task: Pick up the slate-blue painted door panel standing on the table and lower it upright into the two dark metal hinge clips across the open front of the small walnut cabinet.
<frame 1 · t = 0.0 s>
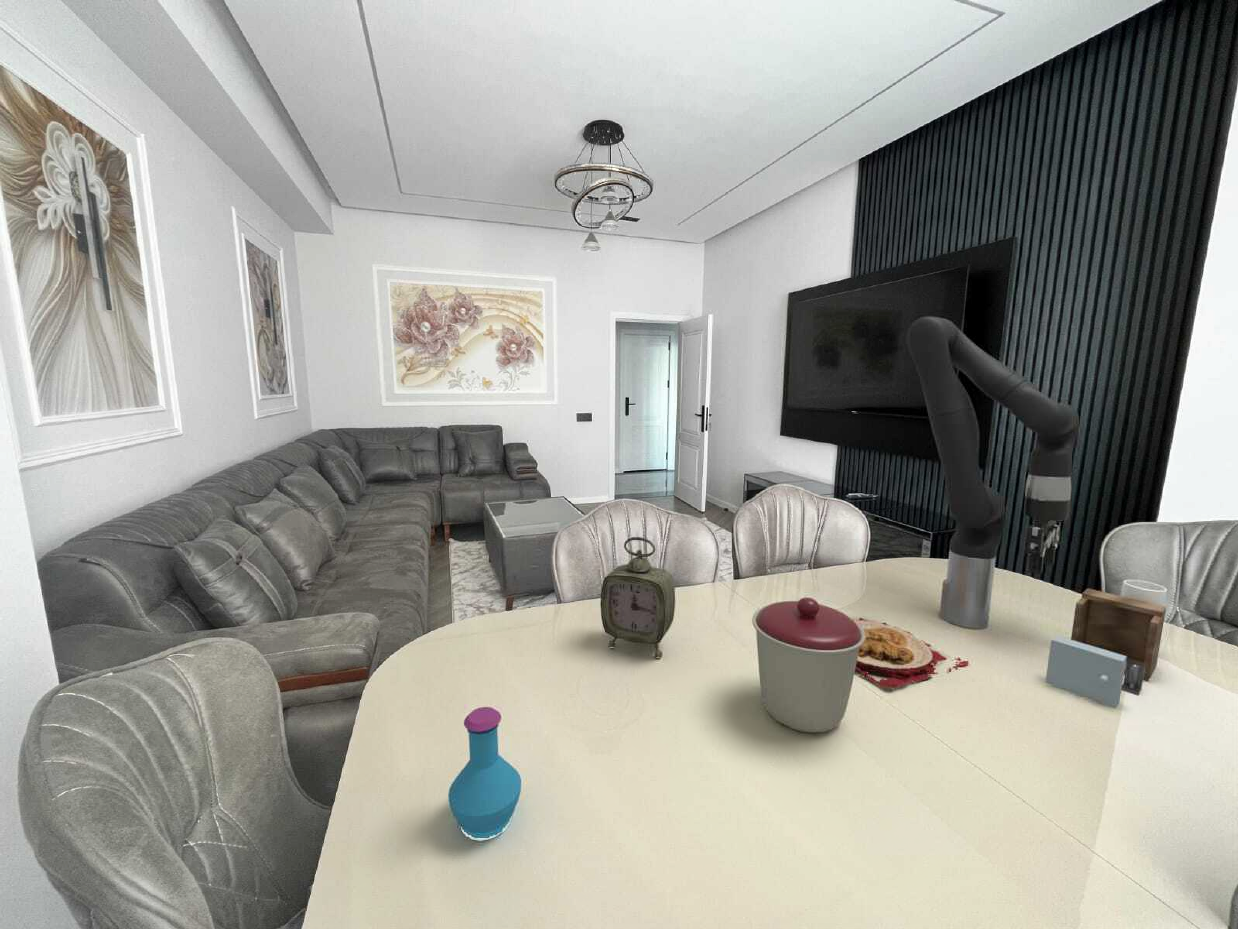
hand: (1041, 568, 113), 17 cm above the table, tool pointing down, fingers open, 8 cm apart
tabletop clock: (639, 648, 113), on the table
door: (1081, 692, 97), on the table
cabinet: (1111, 661, 108), on the table
canister: (801, 714, 90), on the table
perfume bottle: (486, 820, 68), on the table
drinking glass: (1134, 651, 112), on the table
hinge clips: (1100, 677, 102), on the table
plate with food: (872, 651, 113), on the table
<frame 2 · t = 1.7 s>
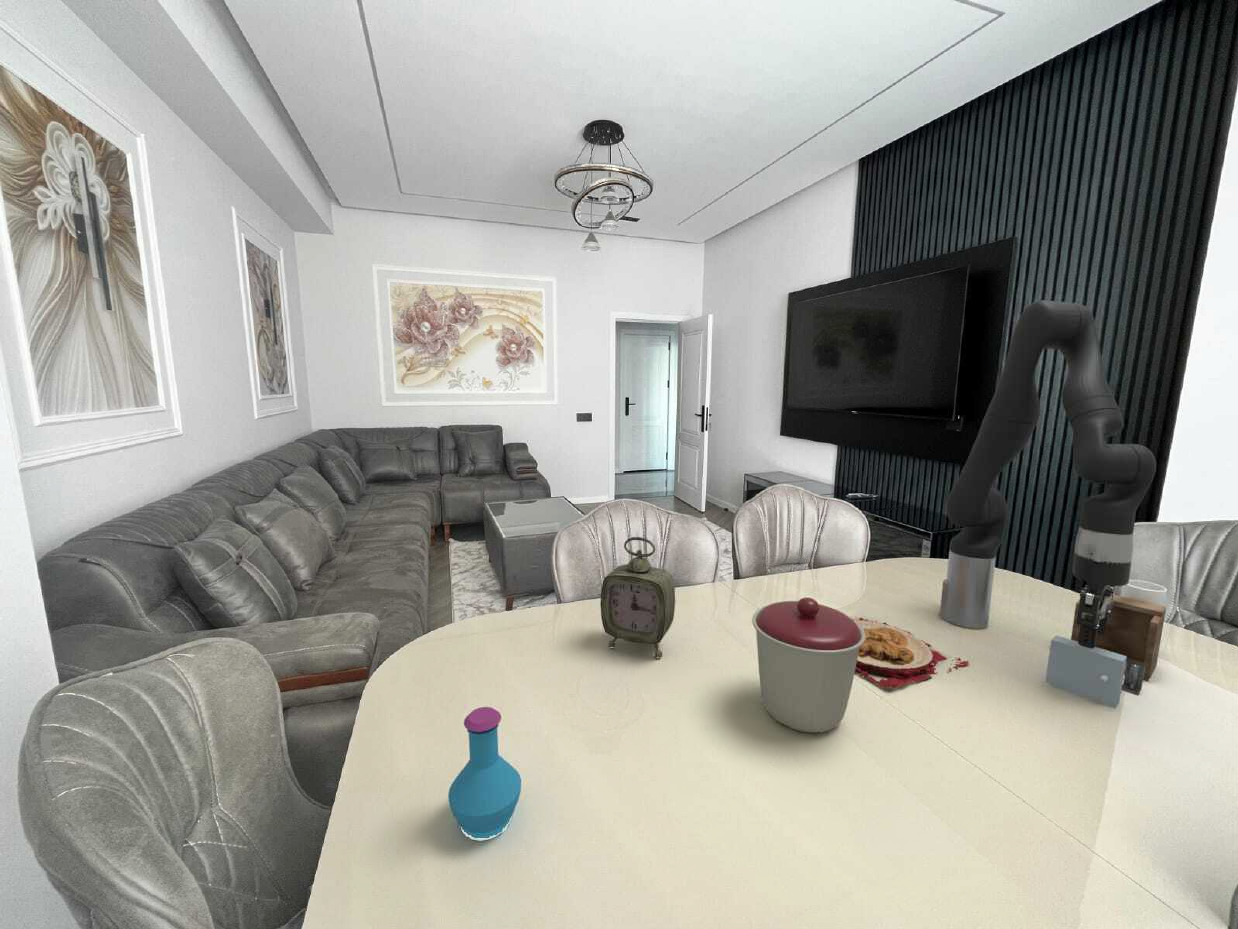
hand: (1091, 639, 95), 11 cm above the table, tool pointing down, fingers open, 8 cm apart
nothing on the table moved.
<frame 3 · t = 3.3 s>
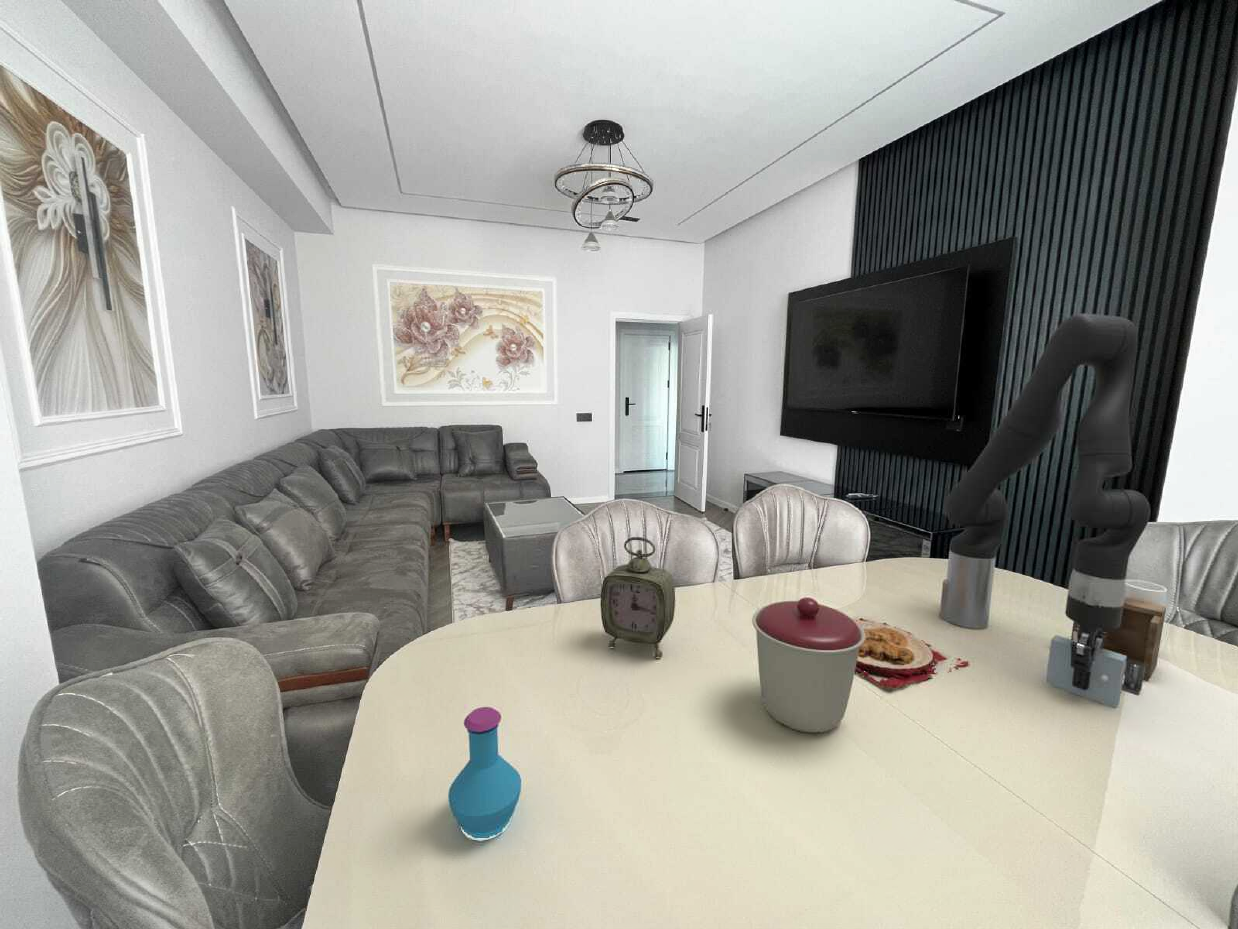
hand: (1082, 684, 97), 2 cm above the table, tool pointing down, fingers closed on door, 3 cm apart
door: (1081, 692, 97), on the table, touching gripper
everything else where it was.
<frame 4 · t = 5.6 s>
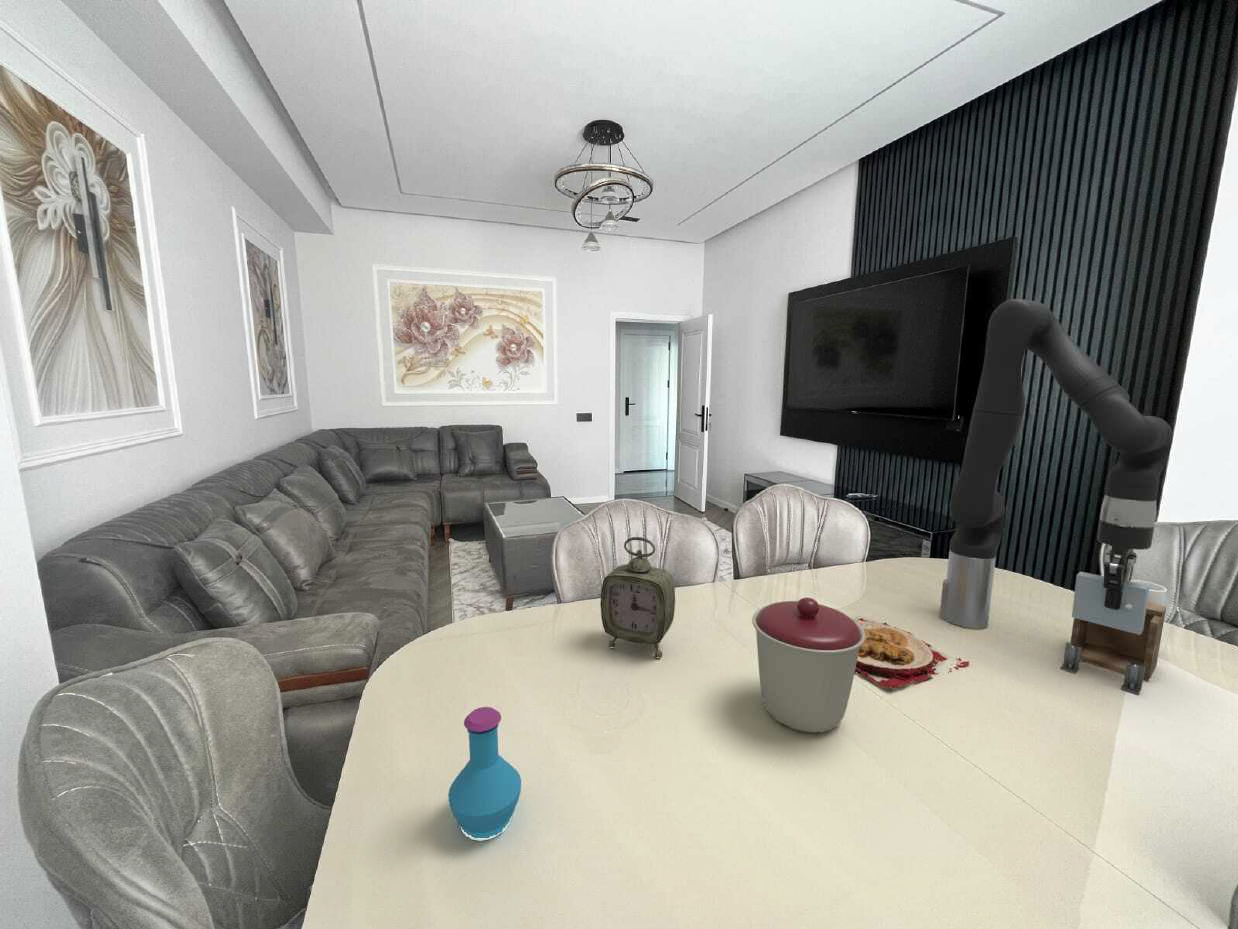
hand: (1113, 605, 101), 14 cm above the table, tool pointing down, fingers closed on door, 3 cm apart
door: (1106, 623, 103), point 10 cm above the table, touching gripper
everything else where it was.
when the fingers open (4 cm above the table, at t = 7.7 s): door stays where it is, on the table.
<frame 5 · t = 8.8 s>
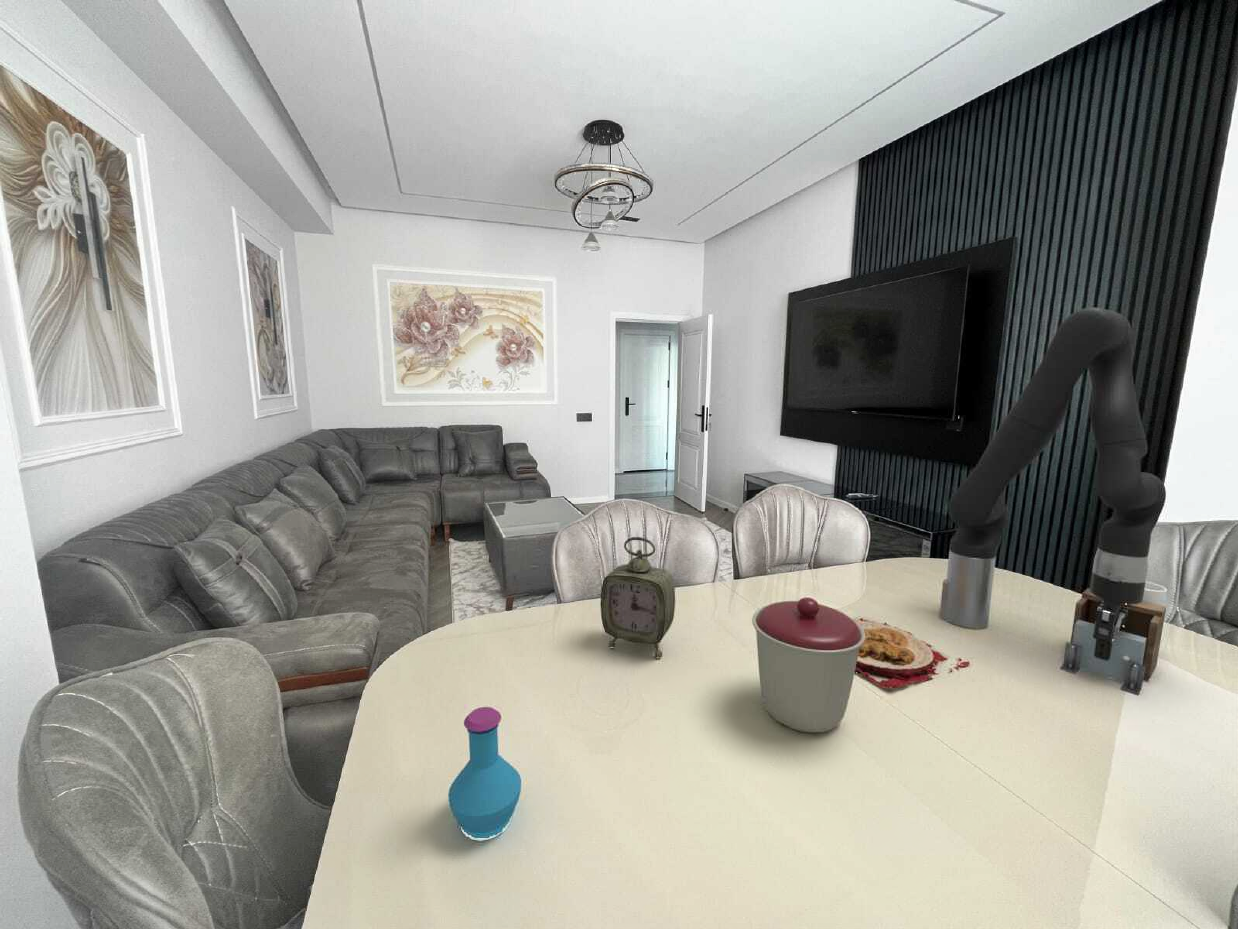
hand: (1106, 651, 103), 4 cm above the table, tool pointing down, fingers open, 8 cm apart
door: (1103, 673, 104), on the table
everything else where it was.
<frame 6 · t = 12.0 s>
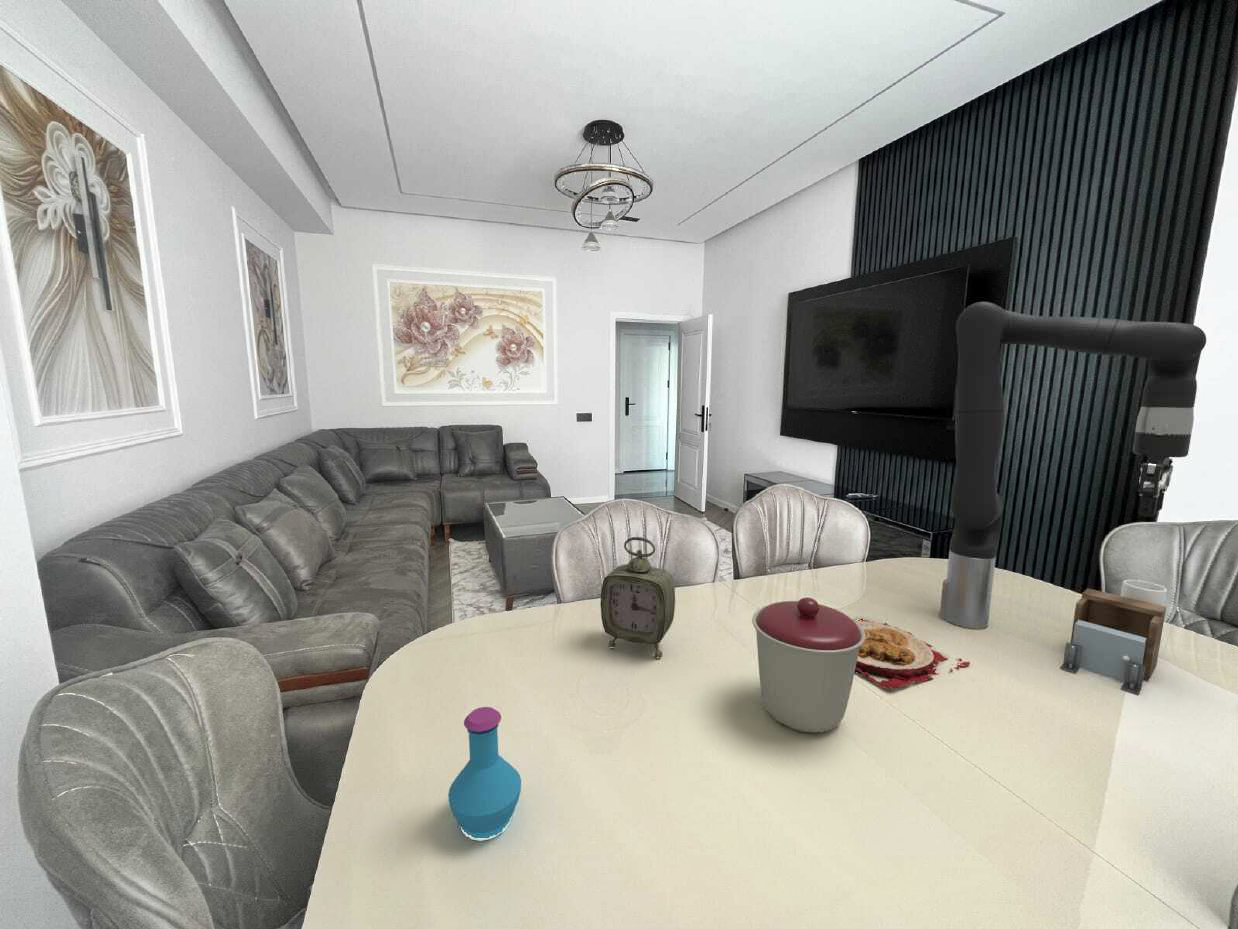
hand: (1149, 512, 102), 32 cm above the table, tool pointing down, fingers open, 8 cm apart
nothing on the table moved.
at the end: door 0.1 cm from the target spot, on the table; door tilted 0°; the gripper is holding nothing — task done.
